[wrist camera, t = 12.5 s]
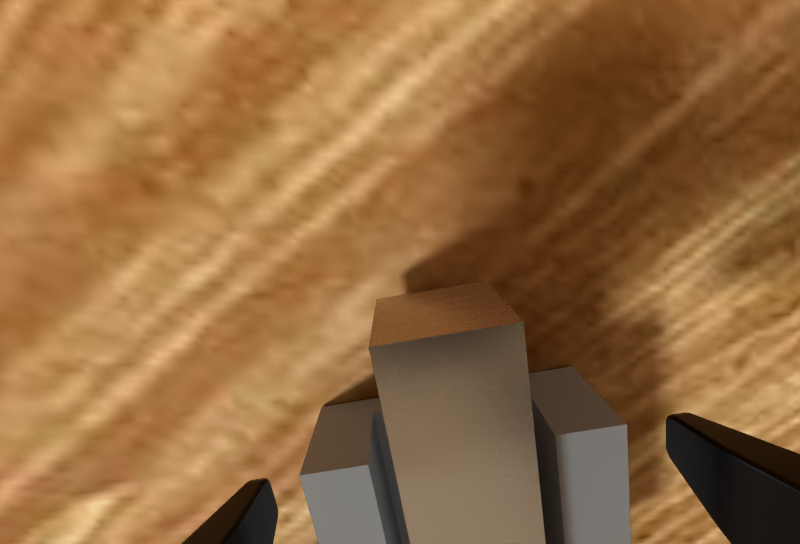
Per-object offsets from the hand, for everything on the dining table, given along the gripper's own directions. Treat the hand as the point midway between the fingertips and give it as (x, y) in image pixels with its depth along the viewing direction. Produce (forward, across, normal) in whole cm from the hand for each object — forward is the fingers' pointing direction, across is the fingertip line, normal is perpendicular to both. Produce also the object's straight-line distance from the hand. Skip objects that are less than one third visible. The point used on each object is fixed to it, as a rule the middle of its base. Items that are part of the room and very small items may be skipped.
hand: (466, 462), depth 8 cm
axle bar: (+3, 0, +3) cm, 5 cm away
